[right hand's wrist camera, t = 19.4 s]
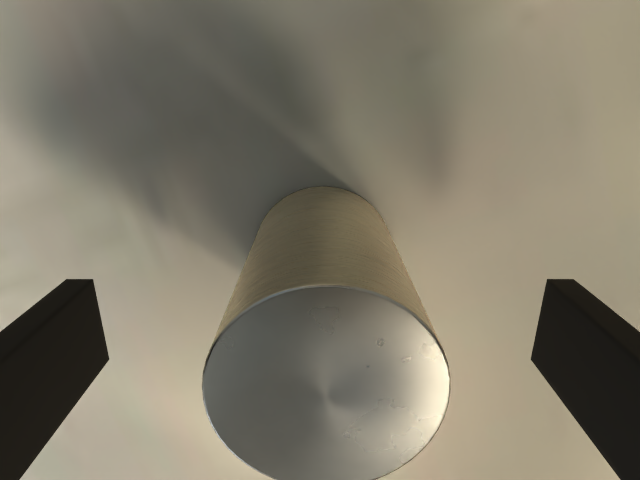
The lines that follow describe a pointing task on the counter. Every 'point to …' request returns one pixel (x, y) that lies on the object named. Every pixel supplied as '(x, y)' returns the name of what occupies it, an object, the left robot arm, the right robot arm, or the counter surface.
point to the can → (325, 348)
